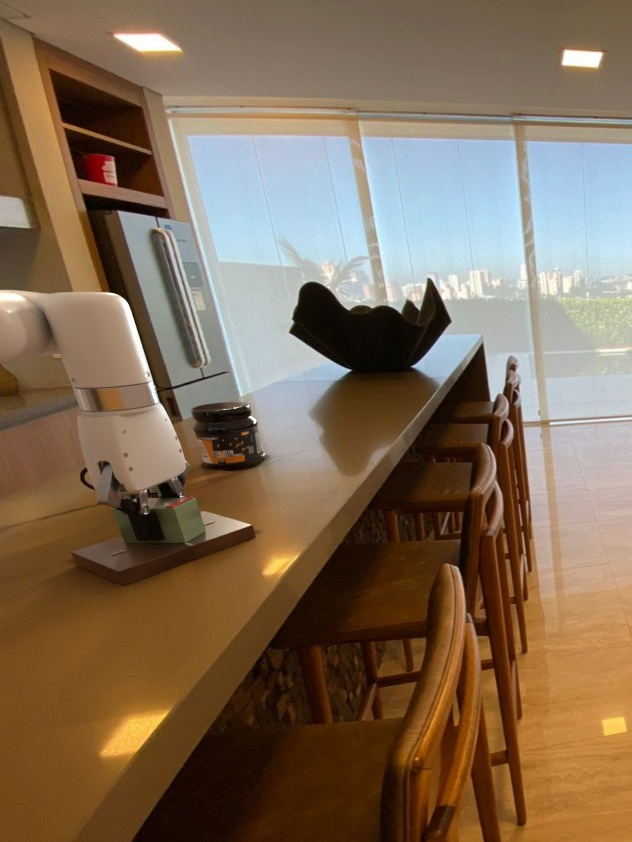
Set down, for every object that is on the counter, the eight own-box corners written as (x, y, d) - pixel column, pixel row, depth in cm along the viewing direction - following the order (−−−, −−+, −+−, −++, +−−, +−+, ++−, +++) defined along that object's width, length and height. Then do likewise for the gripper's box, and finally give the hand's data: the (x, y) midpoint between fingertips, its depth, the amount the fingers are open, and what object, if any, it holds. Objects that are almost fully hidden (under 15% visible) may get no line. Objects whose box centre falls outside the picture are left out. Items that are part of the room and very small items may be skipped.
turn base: (124, 586, 69) (118, 570, 68) (75, 565, 74) (69, 550, 73) (256, 537, 82) (252, 523, 81) (207, 522, 87) (203, 509, 86)
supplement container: (193, 474, 109) (174, 412, 104) (221, 458, 119) (205, 401, 114) (253, 471, 111) (237, 410, 106) (275, 456, 120) (262, 400, 116)
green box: (124, 543, 75) (110, 507, 73) (148, 531, 79) (135, 496, 77) (185, 543, 75) (173, 506, 73) (206, 531, 79) (195, 496, 77)
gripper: (142, 387, 78) (182, 510, 85) (20, 412, 62) (81, 561, 69) (197, 387, 78) (232, 510, 85) (89, 412, 62) (143, 560, 69)
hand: (164, 531), depth 77 cm, fingers closed on green box, 4 cm apart
